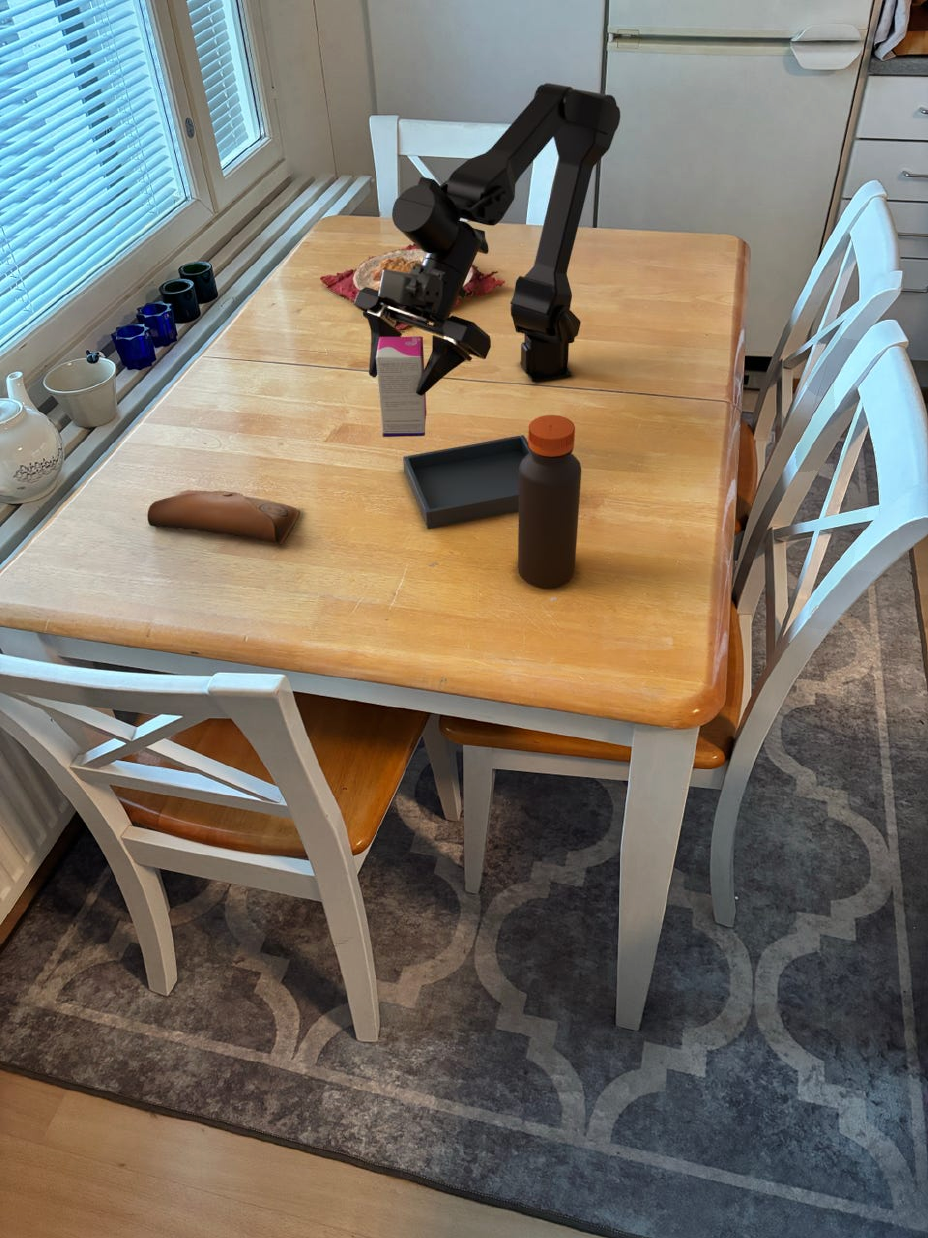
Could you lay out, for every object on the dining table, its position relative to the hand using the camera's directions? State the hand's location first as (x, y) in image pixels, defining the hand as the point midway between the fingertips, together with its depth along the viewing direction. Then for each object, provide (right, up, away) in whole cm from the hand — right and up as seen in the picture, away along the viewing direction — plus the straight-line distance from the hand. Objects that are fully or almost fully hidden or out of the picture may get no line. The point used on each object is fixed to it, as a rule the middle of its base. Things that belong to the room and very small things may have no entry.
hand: (394, 385), depth 120 cm
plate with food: (-1, +31, +52) cm, 61 cm away
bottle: (+19, -24, -7) cm, 31 cm away
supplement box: (+1, -4, +6) cm, 7 cm away
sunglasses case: (-22, -17, +2) cm, 28 cm away
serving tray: (+11, -12, +6) cm, 17 cm away
